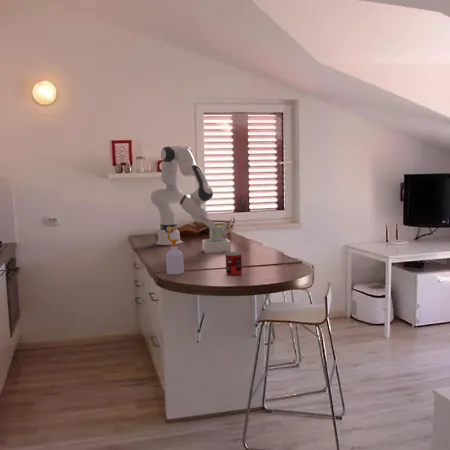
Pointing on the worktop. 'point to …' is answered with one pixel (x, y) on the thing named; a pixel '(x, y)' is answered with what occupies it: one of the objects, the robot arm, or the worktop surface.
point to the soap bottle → (174, 257)
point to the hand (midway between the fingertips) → (216, 230)
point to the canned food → (233, 264)
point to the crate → (216, 246)
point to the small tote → (216, 234)
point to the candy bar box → (223, 229)
